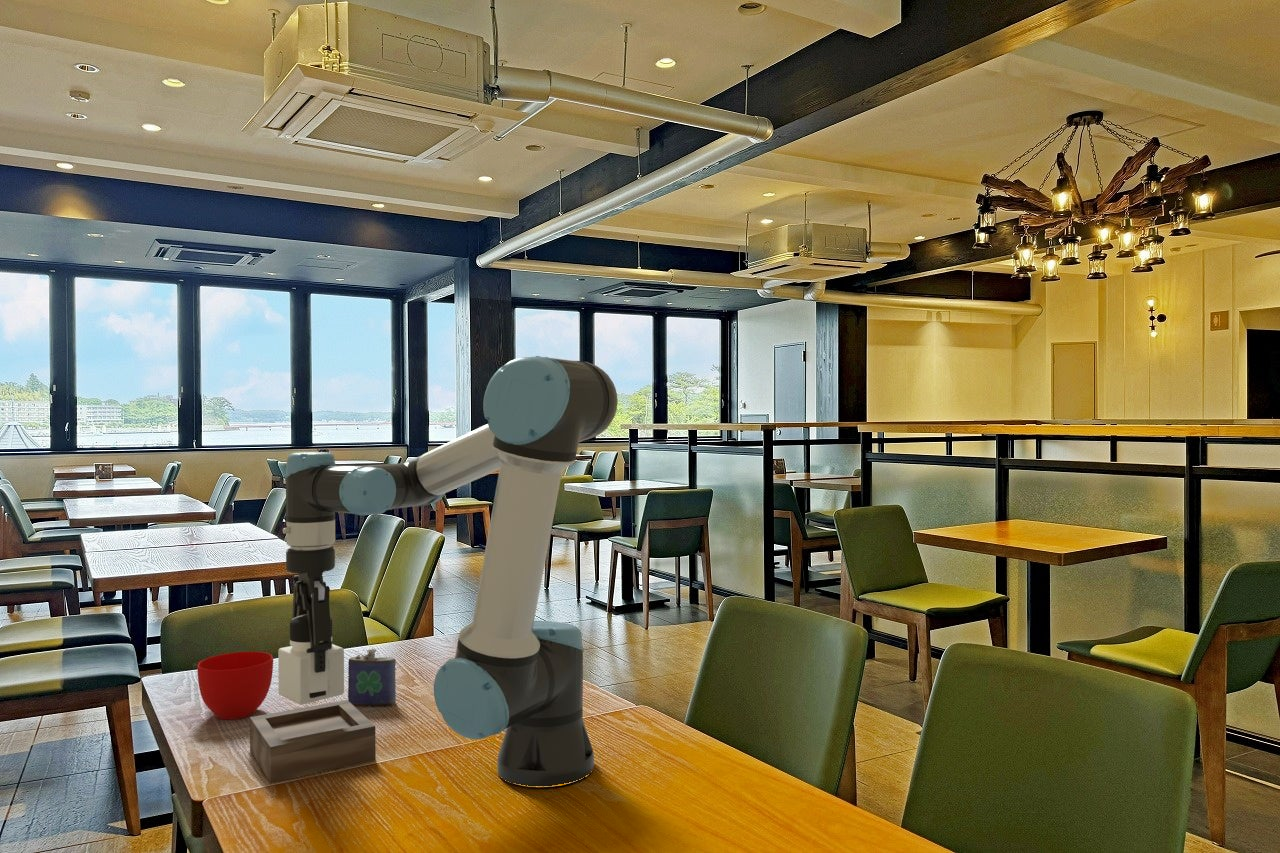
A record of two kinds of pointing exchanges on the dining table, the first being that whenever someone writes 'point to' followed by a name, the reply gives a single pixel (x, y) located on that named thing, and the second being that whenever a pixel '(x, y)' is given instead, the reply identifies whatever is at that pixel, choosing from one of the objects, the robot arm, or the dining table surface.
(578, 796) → the dining table surface
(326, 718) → the thick-rimmed brown tray
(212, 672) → the ceramic cup
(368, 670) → the flask
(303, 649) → the container
